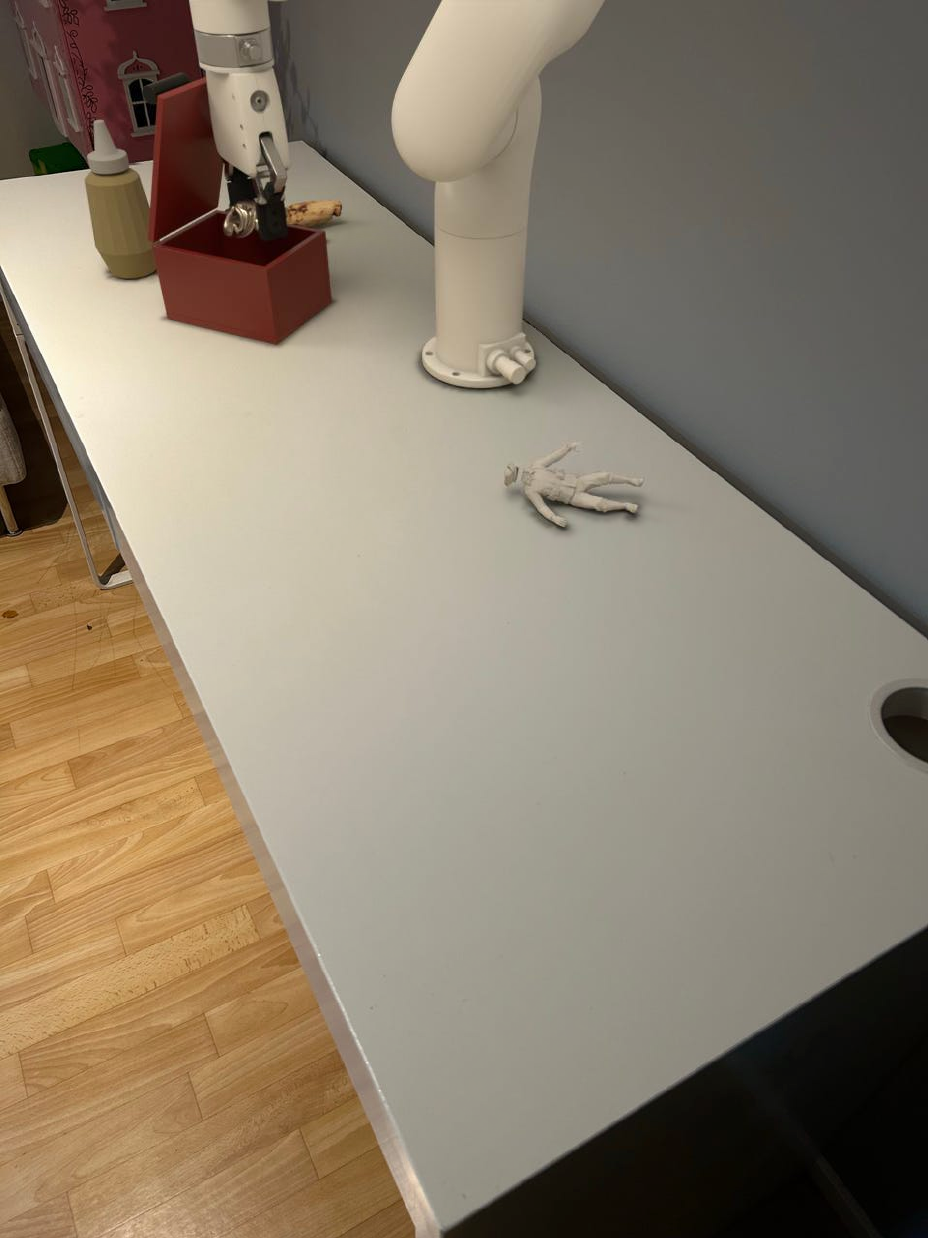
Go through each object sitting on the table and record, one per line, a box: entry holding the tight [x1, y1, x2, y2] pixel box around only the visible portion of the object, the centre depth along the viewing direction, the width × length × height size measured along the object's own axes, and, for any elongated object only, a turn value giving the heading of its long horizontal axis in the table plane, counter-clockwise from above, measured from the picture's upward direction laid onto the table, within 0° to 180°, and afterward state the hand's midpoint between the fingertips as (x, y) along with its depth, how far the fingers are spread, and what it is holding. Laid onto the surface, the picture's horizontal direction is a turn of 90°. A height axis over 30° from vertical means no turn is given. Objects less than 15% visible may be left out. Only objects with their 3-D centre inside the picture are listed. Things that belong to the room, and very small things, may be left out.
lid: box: [141, 72, 224, 243], centre depth 105 cm, size 16×13×5 cm
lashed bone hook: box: [224, 199, 343, 228], centre depth 130 cm, size 9×5×18 cm
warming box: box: [152, 209, 333, 346], centre depth 112 cm, size 16×13×9 cm
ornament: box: [223, 198, 288, 238], centre depth 106 cm, size 8×7×4 cm
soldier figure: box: [503, 441, 645, 528], centre depth 85 cm, size 8×5×12 cm
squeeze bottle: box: [84, 119, 161, 279], centre depth 117 cm, size 8×8×18 cm
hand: (259, 225), depth 107 cm, fingers closed on ornament, 6 cm apart
